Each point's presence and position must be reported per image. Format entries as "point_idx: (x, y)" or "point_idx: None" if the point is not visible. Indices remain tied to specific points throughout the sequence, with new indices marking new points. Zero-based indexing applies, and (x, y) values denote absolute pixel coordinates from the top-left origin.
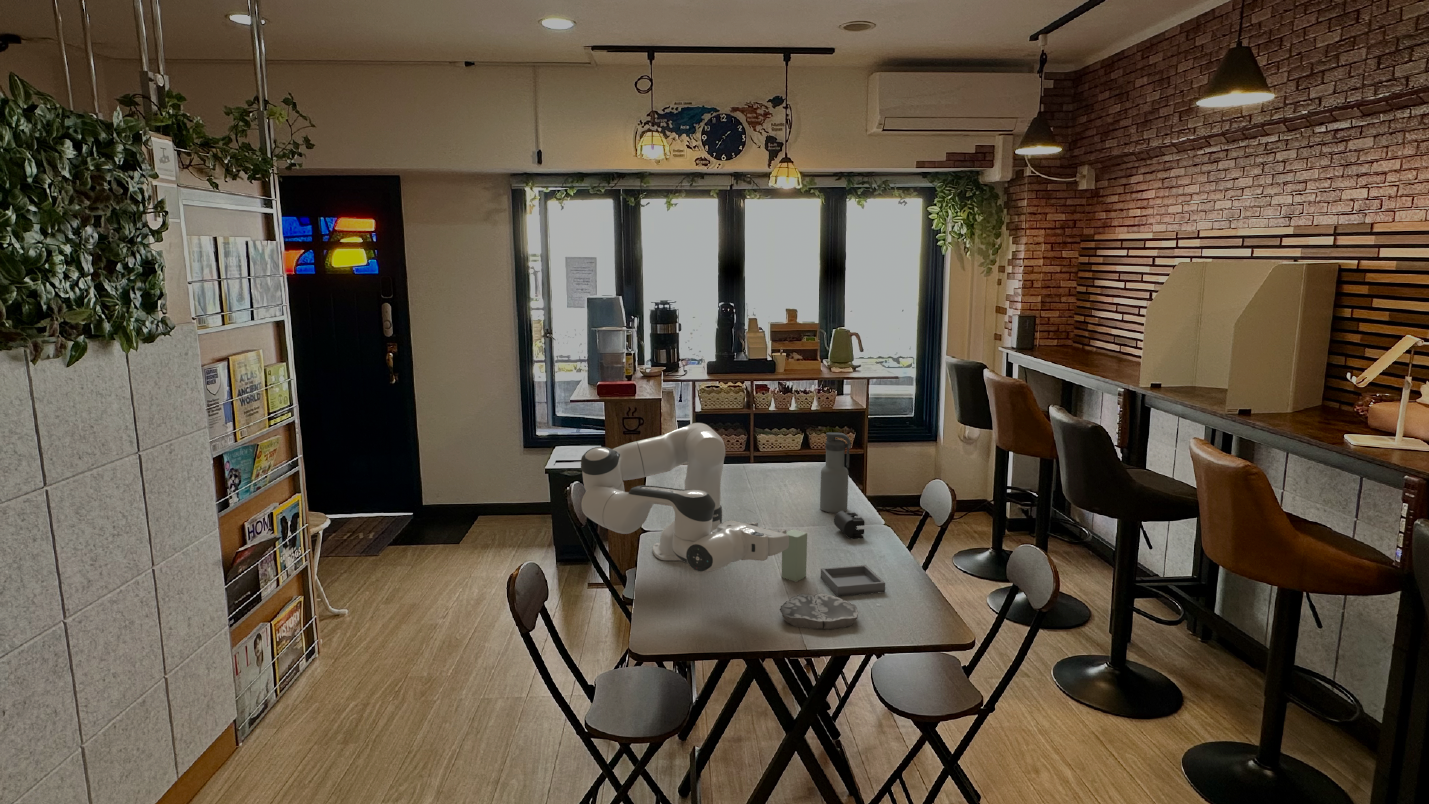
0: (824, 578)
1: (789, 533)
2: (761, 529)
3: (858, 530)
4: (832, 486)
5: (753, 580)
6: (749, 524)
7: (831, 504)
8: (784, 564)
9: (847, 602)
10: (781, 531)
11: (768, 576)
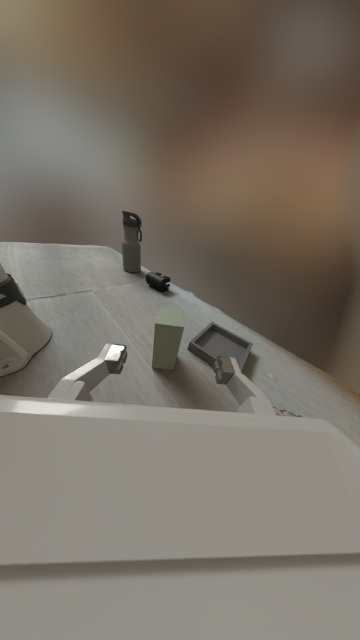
0: (198, 353)
1: (164, 319)
2: (213, 450)
3: (166, 285)
4: (132, 254)
5: (118, 399)
6: (97, 368)
7: (133, 267)
8: (157, 357)
9: (290, 415)
10: (242, 377)
11: (134, 373)
